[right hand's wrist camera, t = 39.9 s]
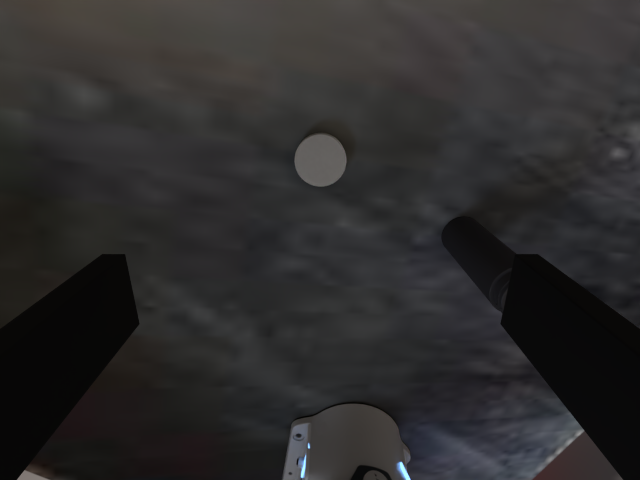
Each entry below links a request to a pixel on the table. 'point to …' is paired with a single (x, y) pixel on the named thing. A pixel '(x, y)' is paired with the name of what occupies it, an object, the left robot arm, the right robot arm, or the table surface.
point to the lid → (320, 159)
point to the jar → (480, 257)
